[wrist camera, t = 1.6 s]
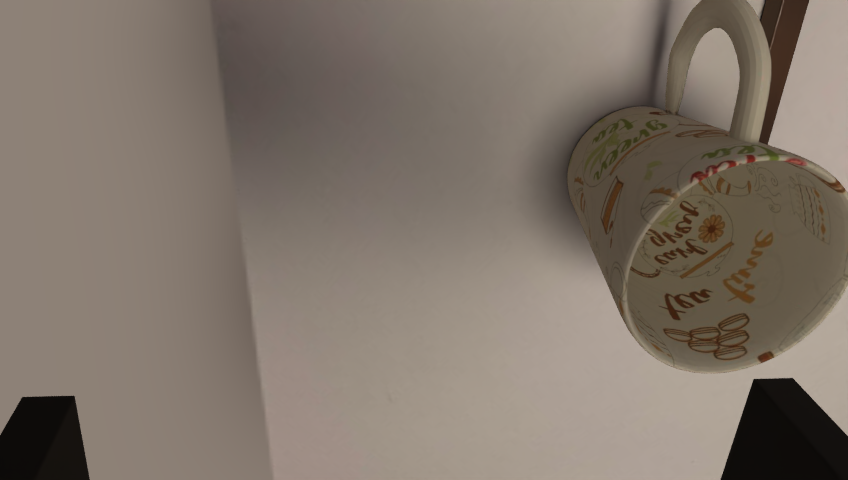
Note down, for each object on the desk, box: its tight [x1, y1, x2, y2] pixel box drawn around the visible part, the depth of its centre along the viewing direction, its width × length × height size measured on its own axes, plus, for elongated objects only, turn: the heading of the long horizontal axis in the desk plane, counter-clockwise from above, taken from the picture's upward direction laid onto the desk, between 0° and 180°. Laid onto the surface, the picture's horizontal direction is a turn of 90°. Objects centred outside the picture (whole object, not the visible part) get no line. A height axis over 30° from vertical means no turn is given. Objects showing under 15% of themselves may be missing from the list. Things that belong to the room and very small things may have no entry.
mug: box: [567, 0, 848, 373], centre depth 28 cm, size 8×13×10 cm, turn 179°
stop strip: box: [759, 0, 809, 145], centre depth 32 cm, size 16×1×1 cm, turn 176°
